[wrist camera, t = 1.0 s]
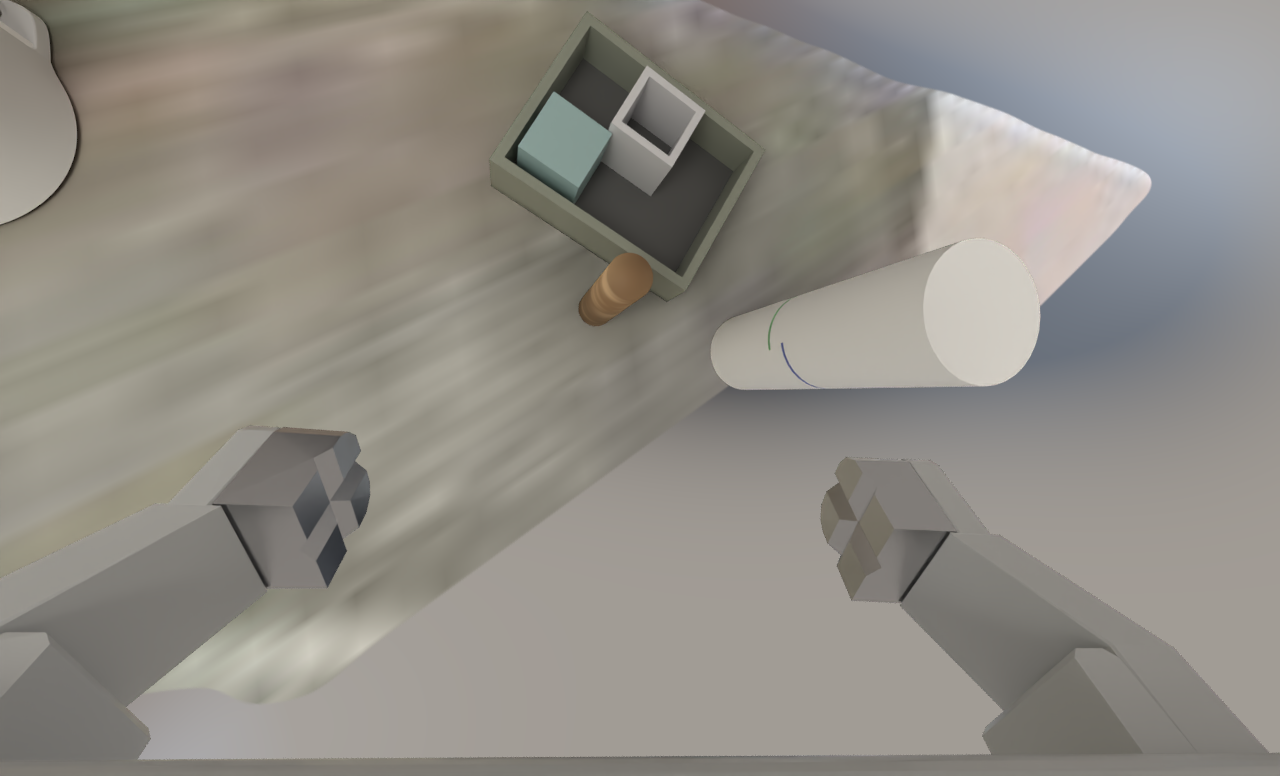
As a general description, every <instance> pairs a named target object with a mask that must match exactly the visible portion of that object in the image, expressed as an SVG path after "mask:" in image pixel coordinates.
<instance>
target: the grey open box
mask: <svg viewBox="0 0 1280 776" xmlns="http://www.w3.org/2000/svg"><path fill="white" fill-rule="evenodd" d="M764 151H765V149H764V148H762V147H761V146H760V145H758V144H757V143H756V142H755V141H753V140H752V139H751V138H749V137H748V136H747V135H746V134H744V133H743V132H742V131H740V130H739V129H738V128H737V127H735V126H734V125H733V124H731V123H730V122H729V121H728V120H726V119H725V118H724V117H722V116H721V115H720V114H719V113H717V112H716V111H715V110H713V109H712V108H711V107H710V106H708V105H707V104H706V103H704V102H703V101H702V100H701V99H699V98H698V97H697V96H695V95H694V94H693V93H692V92H690V91H689V90H688V89H686V88H685V87H684V86H683V85H681V84H680V83H679V82H677V81H676V80H675V79H674V78H672V77H671V76H670V75H668V74H667V73H666V72H665V71H663V70H662V69H661V68H659V67H658V66H657V65H656V64H654V63H653V62H652V61H650V60H649V59H648V58H647V57H645V56H644V55H643V54H642V53H640V52H639V51H638V50H636V49H635V48H634V47H633V46H631V45H630V44H629V43H627V42H626V41H625V40H624V39H622V38H621V37H620V36H618V35H617V34H616V33H615V32H613V31H612V30H611V29H609V28H608V27H607V26H606V25H604V24H603V23H602V22H600V21H599V20H598V19H597V18H595V17H594V16H593V15H591V14H590V13H589V12H588V11H587V12H586V13H585V15H584V16H583V18H582V19H581V21H580V22H579V24H578V25H577V27H576V28H575V30H574V31H573V33H572V34H571V36H570V37H569V39H568V40H567V42H566V43H565V45H564V47H563V48H562V50H561V51H560V53H559V54H558V56H557V57H556V59H555V60H554V62H553V63H552V65H551V66H550V68H549V69H548V71H547V72H546V74H545V75H544V77H543V78H542V80H541V81H540V83H539V84H538V86H537V87H536V89H535V91H534V92H533V94H532V95H531V97H530V98H529V100H528V101H527V103H526V104H525V106H524V107H523V109H522V110H521V112H520V113H519V115H518V116H517V118H516V119H515V121H514V122H513V124H512V125H511V127H510V128H509V130H508V131H507V133H506V135H505V136H504V138H503V139H502V141H501V142H500V144H499V145H498V147H497V148H496V150H495V151H494V153H493V154H492V156H491V157H490V159H489V163H490V178H491V186H492V187H494V188H495V189H497V190H498V191H500V192H501V193H503V194H504V195H506V196H507V197H509V198H510V199H512V200H513V201H515V202H516V203H518V204H519V205H521V206H522V207H524V208H525V209H527V210H529V211H530V212H532V213H533V214H535V215H536V216H538V217H539V218H541V219H542V220H544V221H545V222H547V223H548V224H550V225H551V226H553V227H554V228H556V229H557V230H559V231H560V232H562V233H563V234H565V235H566V236H568V237H570V238H571V239H573V240H574V241H576V242H577V243H579V244H580V245H582V246H583V247H585V248H586V249H588V250H589V251H591V252H592V253H594V254H595V255H597V256H598V257H600V258H601V259H603V260H604V261H606V262H608V263H609V264H610V263H611V262H612V260H613V259H614V258H615V257H617V256H618V255H620V254H623V253H635V254H638V255H640V256H642V257H643V258H644V259H645V260H646V261H647V262H648V263H649V265H650V266H651V269H652V272H653V283H652V286H651V288H650V291H652V292H653V293H655V294H656V295H658V296H659V297H661V298H662V299H664V300H665V301H669V300H670V299H672V298H674V297H676V296H677V295H679V294H681V293H683V292H685V291H686V289H687V288H688V286H689V284H690V282H691V280H692V279H693V277H694V275H695V273H696V272H697V270H698V268H699V266H700V265H701V263H702V261H703V259H704V257H705V256H706V254H707V252H708V250H709V249H710V247H711V245H712V243H713V242H714V240H715V238H716V236H717V234H718V233H719V231H720V229H721V227H722V226H723V224H724V222H725V220H726V219H727V217H728V215H729V213H730V211H731V210H732V208H733V206H734V204H735V203H736V201H737V199H738V197H739V196H740V194H741V192H742V190H743V188H744V187H745V185H746V183H747V181H748V180H749V178H750V176H751V174H752V173H753V171H754V169H755V167H756V165H757V164H758V162H759V160H760V158H761V157H762V155H763V153H764Z"/></svg>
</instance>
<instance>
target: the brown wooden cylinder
mask: <svg viewBox="0 0 1280 776" xmlns="http://www.w3.org/2000/svg"><path fill="white" fill-rule="evenodd" d="M652 283H653V272H652V269H651V266H650V265H649V263H648V262H647V261H646V260H645V259H644V258H643V257H642V256H640V255H638V254H635V253H623V254H620V255H618V256H617V257H615V258H614V259H613V260H612V262H611V263H610V264H609V265H608V267H607V268H606V269H605V270H604V272H603V273H602V274H601V275H600V277H599V278H598V279H597V280H596V282H595V283H594V284H593V285H592V287H591V288H590V289H589V290H588V292H587V293H586V294H585V295H584V297H583V298H582V299H581V301H580V303H579V314H580V316H581V318H582V320H583V321H584V322H586V323H587V324H589V325H592V326H600V325H603V324H605V323H606V322H608V321H609V320H610V319H612V318H613V317H615V316H616V315H618V314H619V313H620V312H622V311H623V310H625V309H626V308H627V307H629V306H630V305H632V304H633V303H634V302H636V301H637V300H639V299H640V298H642V297H643V296H644V295H646V294H647V293H648V291H649V290H650V288H651V286H652Z"/></svg>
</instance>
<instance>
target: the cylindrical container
mask: <svg viewBox="0 0 1280 776" xmlns="http://www.w3.org/2000/svg"><path fill="white" fill-rule="evenodd" d="M1039 325H1040V305H1039V299H1038V294H1037V290H1036V287H1035V284H1034V281H1033V279H1032V277H1031V275H1030V273H1029V271H1028V269H1027V268H1026V266H1025V265H1024V263H1023V262H1022V261H1021V260H1020V258H1019V257H1018V256H1017V255H1016V254H1015V253H1014V252H1012V251H1011V250H1010V249H1009V248H1008V247H1006V246H1004V245H1002V244H1000V243H998V242H997V241H993V240H989V239H985V238H972V239H968V240H964V241H960V242H957V243H954V244H951V245H948V246H945V247H942V248H939V249H936V250H933V251H931V252H928V253H925V254H922V255H919V256H916V257H913V258H910V259H907V260H904V261H901V262H898V263H895V264H892V265H889V266H886V267H883V268H880V269H877V270H874V271H871V272H868V273H865V274H862V275H859V276H856V277H853V278H850V279H847V280H844V281H841V282H838V283H835V284H832V285H829V286H826V287H823V288H820V289H817V290H814V291H811V292H808V293H805V294H802V295H799V296H796V297H793V298H790V299H787V300H784V301H781V302H778V303H775V304H772V305H769V306H766V307H763V308H760V309H757V310H754V311H751V312H748V313H745V314H742V315H739V316H736V317H733V318H731V319H729V320H727V321H726V322H724V323H723V324H722V325H721V326H720V327H719V328H718V329H717V331H716V333H715V335H714V337H713V340H712V343H711V360H712V364H713V367H714V369H715V371H716V373H717V374H718V376H719V377H720V378H721V379H722V380H723V381H724V382H725V383H726V384H728V385H729V386H731V387H734V388H736V389H742V390H764V389H766V390H767V389H768V390H769V389H831V388H832V389H834V388H891V387H892V388H893V387H894V388H897V387H898V388H899V387H958V386H959V387H960V386H961V387H962V386H990V385H996V384H999V383H1002V382H1005V381H1007V380H1008V379H1010V378H1011V377H1013V376H1014V375H1015V374H1016V373H1018V372H1019V371H1020V370H1021V369H1022V368H1023V366H1024V365H1025V364H1026V362H1027V361H1028V359H1029V358H1030V356H1031V354H1032V351H1033V349H1034V347H1035V345H1036V341H1037V337H1038V333H1039Z"/></svg>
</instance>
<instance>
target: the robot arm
mask: <svg viewBox="0 0 1280 776" xmlns="http://www.w3.org/2000/svg"><path fill="white" fill-rule="evenodd" d="M0 14H2V15H1V17H0V224H3V223H6V222H9V221H11V220H14V219H16V218H18V217H20V216H22V215H24V214H26V213H28V212H30V211H31V210H33V209H34V208H36V207H37V206H39V205H40V204H41V203H43V202H44V201H45V200H46V199H47V198H48V197H50V196H51V195H52V194H53V193H54V191H55V190H56V189H57V188H58V187H59V185H60V184H61V183H62V181H63V180H64V178H65V177H66V175H67V173H68V171H69V169H70V167H71V164H72V162H73V159H74V155H75V150H76V144H77V126H76V119H75V115H74V111H73V108H72V105H71V102H70V100H69V97H68V95H67V93H66V91H65V90H64V88H63V86H62V84H61V83H60V81H59V79H58V77H57V76H56V74H55V72H54V69H53V67H52V64H51V54H50V39H49V33H48V30H47V27H46V25H45V23H44V22H43V20H42V19H40V18H39V17H38V16H37V15H35V14H34V13H32V12H31V11H29V10H28V9H26V8H25V7H23V6H21V5H19V4H17V3H15V2H12V1H10V0H0ZM360 452H361V449H360V446H359V443H358V441H357V438H356V435H354V434H352V433H350V432H344V431H330V430H316V429H302V428H289V427H283V428H279V427H266V426H253V425H249V426H247V427H244V428H241V429H239V430H238V431H237V432H236V433H235V434H234V435H233V436H232V437H231V438H230V439H229V440H228V441H227V442H226V443H225V444H224V445H223V446H222V447H221V448H220V449H219V450H218V452H217V453H216V454H215V455H214V456H213V457H212V458H211V459H210V460H209V461H208V462H207V463H206V464H205V465H204V466H203V467H202V468H201V469H200V470H199V471H198V472H197V473H196V475H195V476H194V477H193V478H192V479H191V480H190V481H189V482H188V483H187V484H186V485H185V486H184V487H183V488H182V489H181V490H180V491H179V492H178V493H177V494H176V495H175V496H174V497H173V499H172V500H171V501H170V502H169V503H168V504H159V503H155V504H153V505H151V506H149V507H147V508H145V509H143V510H141V511H139V512H137V513H135V514H132V515H130V516H128V517H126V518H124V519H122V520H120V521H118V522H116V523H114V524H112V525H110V526H108V527H106V528H103V529H101V530H99V531H97V532H95V533H93V534H91V535H89V536H87V537H85V538H83V539H81V540H79V541H77V542H74V543H72V544H70V545H68V546H66V547H64V548H62V549H60V550H58V551H56V552H54V553H52V554H50V555H48V556H45V557H43V558H41V559H39V560H37V561H35V562H33V563H31V564H29V565H27V566H25V567H23V568H21V569H19V570H16V571H14V572H12V573H10V574H8V575H6V576H4V577H2V578H0V776H1280V753H1269V752H1268V751H1267V750H1266V748H1265V747H1264V746H1263V745H1262V744H1261V743H1260V742H1259V741H1258V740H1257V739H1256V737H1255V736H1254V735H1253V734H1252V733H1251V732H1250V731H1249V730H1248V729H1247V728H1246V726H1245V725H1244V724H1243V723H1242V722H1241V721H1240V720H1239V719H1238V718H1237V716H1236V715H1235V714H1234V713H1233V712H1232V711H1231V710H1230V709H1229V708H1228V707H1227V705H1226V704H1225V703H1224V702H1223V701H1222V700H1221V699H1220V698H1219V697H1218V695H1216V693H1215V692H1214V691H1213V690H1212V689H1211V688H1210V687H1209V686H1208V684H1207V683H1205V681H1204V680H1203V679H1202V678H1201V677H1200V676H1199V675H1198V673H1197V672H1196V671H1195V670H1194V669H1193V668H1192V667H1191V666H1190V665H1189V663H1188V662H1187V661H1186V660H1185V659H1184V658H1183V657H1182V656H1181V655H1180V654H1179V652H1178V651H1177V650H1176V649H1175V648H1174V647H1172V646H1171V645H1169V644H1168V643H1166V642H1165V641H1163V640H1162V639H1160V638H1159V637H1157V636H1155V635H1154V634H1152V633H1151V632H1149V631H1148V630H1146V629H1145V628H1143V627H1141V626H1140V625H1138V624H1137V623H1135V622H1134V621H1132V620H1131V619H1129V618H1128V617H1126V616H1125V615H1123V614H1121V613H1120V612H1118V611H1117V610H1115V609H1114V608H1112V607H1111V606H1109V605H1108V604H1106V603H1104V602H1103V601H1101V600H1100V599H1098V598H1097V597H1095V596H1093V595H1092V594H1091V593H1089V592H1087V591H1086V590H1084V589H1083V588H1081V587H1080V586H1078V585H1077V584H1075V583H1073V582H1072V581H1070V580H1069V579H1067V578H1066V577H1064V576H1063V575H1061V574H1060V573H1058V572H1056V571H1055V570H1053V569H1052V568H1050V567H1049V566H1047V565H1046V564H1044V563H1042V562H1041V561H1040V560H1038V559H1036V558H1035V557H1033V556H1032V555H1030V554H1029V553H1027V552H1026V551H1024V550H1023V549H1021V548H1019V547H1018V546H1016V545H1015V544H1013V543H1012V542H1010V541H1009V540H1007V539H1006V538H1004V537H1002V536H1001V535H996V534H990V533H989V531H988V530H987V529H986V527H985V526H984V525H983V523H982V522H981V521H980V520H979V518H978V517H977V515H976V514H975V513H974V511H973V510H972V509H971V507H970V506H969V505H968V503H967V502H966V501H965V499H964V498H963V497H962V495H961V494H960V493H959V492H958V490H957V489H956V488H955V486H954V485H953V484H952V482H951V481H950V480H949V478H948V477H947V476H946V474H945V473H944V472H943V470H942V469H941V468H940V467H939V465H937V464H936V463H934V462H933V461H931V460H916V459H901V460H898V459H879V458H855V457H846V458H845V459H844V460H842V461H841V462H840V463H839V465H838V468H837V470H836V472H835V475H836V477H837V479H838V481H839V483H838V484H836V485H835V486H833V487H832V488H831V489H829V490H828V491H827V492H826V494H825V497H824V499H823V502H822V504H821V524H822V530H823V533H824V535H825V538H826V540H827V543H828V544H829V545H830V546H831V547H832V548H833V549H834V550H836V551H837V552H838V553H839V554H840V555H841V556H840V558H839V561H838V564H837V567H838V569H839V572H840V574H841V577H842V579H843V581H844V584H845V586H846V589H847V591H848V593H849V596H850V598H851V600H852V601H869V602H889V603H901V604H900V606H901V607H902V608H903V609H904V610H905V611H906V612H907V613H908V614H909V615H910V616H911V617H912V618H913V619H914V620H915V622H916V623H918V624H919V626H921V628H922V629H923V630H924V631H925V632H926V633H927V634H928V635H929V636H930V637H931V638H932V639H933V640H934V641H935V642H936V643H937V644H938V645H939V646H940V647H941V648H942V649H943V650H944V651H945V652H946V653H947V654H948V655H949V656H950V657H951V658H952V659H953V660H954V661H955V662H956V663H957V664H958V665H959V666H960V667H961V668H962V669H963V670H964V671H965V672H966V673H967V674H968V675H969V676H970V677H971V678H972V679H973V680H974V681H975V682H976V683H977V684H978V685H979V686H980V687H981V688H982V689H983V690H984V691H985V692H986V693H987V694H988V695H989V696H990V697H991V698H992V699H993V701H995V702H996V704H997V705H998V706H999V707H1000V708H1001V709H1002V710H1003V712H1002V713H1001V714H1000V715H999V716H998V717H996V718H995V719H994V720H993V721H992V722H991V723H990V724H988V725H987V726H986V727H985V730H984V732H983V735H982V737H983V739H984V741H985V742H986V744H987V746H988V748H989V750H990V752H991V755H990V754H989V755H988V754H986V755H985V754H984V755H981V754H980V755H822V756H821V755H816V756H814V755H813V756H661V757H659V756H654V757H653V756H649V757H487V758H486V757H484V758H483V757H478V758H343V759H342V758H331V759H330V758H328V759H326V758H324V759H176V760H174V759H172V760H137V759H138V758H139V756H140V755H141V753H142V752H143V750H144V749H145V747H146V745H147V744H148V742H149V741H150V739H151V738H150V734H149V729H148V727H146V726H145V725H144V724H143V723H142V722H141V721H140V720H139V719H138V718H137V717H136V716H135V715H134V714H133V713H132V712H130V711H129V710H128V709H127V708H126V707H127V706H128V705H129V704H130V703H131V702H133V701H134V700H135V699H136V698H138V697H139V696H140V695H141V694H143V693H144V692H145V691H146V690H147V689H149V688H150V687H151V686H152V685H154V684H155V683H156V682H157V681H158V680H160V679H161V678H162V677H163V676H165V675H166V674H167V673H168V672H169V671H171V670H172V669H173V668H174V667H176V666H177V665H178V664H179V663H181V662H182V661H183V660H184V659H185V658H187V657H188V656H189V655H190V654H192V653H193V652H194V651H195V650H196V649H198V648H199V647H200V646H201V645H203V644H204V643H205V642H206V641H208V640H209V639H210V638H211V637H212V636H214V635H215V634H216V633H217V632H219V631H220V630H221V629H222V628H223V627H225V626H226V625H227V624H228V623H230V622H231V621H232V620H233V619H234V618H236V617H237V616H238V615H239V614H241V613H242V612H243V611H244V610H246V609H247V608H248V607H249V606H250V605H252V604H253V603H254V602H255V601H257V600H258V599H259V598H260V597H261V596H263V595H264V594H265V593H266V592H267V589H271V588H328V586H329V584H330V582H331V581H332V579H333V577H334V575H335V573H336V571H337V569H338V567H339V565H340V563H341V561H342V560H343V558H344V556H345V554H346V552H347V550H346V547H345V544H344V541H343V538H345V537H346V536H348V535H349V534H351V533H352V532H354V531H355V530H356V529H358V528H359V527H360V525H361V523H362V521H363V518H364V516H365V514H366V512H367V507H368V503H369V498H370V481H369V478H368V474H367V471H366V470H365V469H364V468H363V467H361V466H360V465H359V464H358V463H357V462H355V460H356V458H357V457H358V455H359V453H360Z"/></svg>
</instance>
